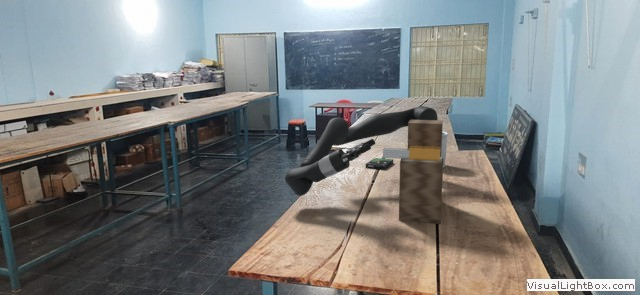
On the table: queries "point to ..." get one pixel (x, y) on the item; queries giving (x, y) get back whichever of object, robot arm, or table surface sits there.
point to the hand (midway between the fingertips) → (372, 143)
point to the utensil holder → (444, 146)
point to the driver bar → (413, 153)
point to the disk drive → (379, 163)
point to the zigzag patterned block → (422, 176)
